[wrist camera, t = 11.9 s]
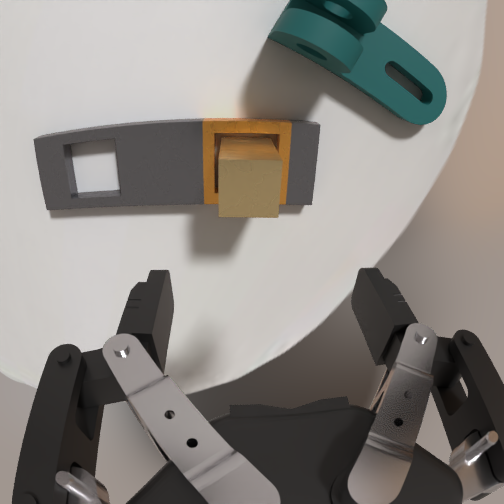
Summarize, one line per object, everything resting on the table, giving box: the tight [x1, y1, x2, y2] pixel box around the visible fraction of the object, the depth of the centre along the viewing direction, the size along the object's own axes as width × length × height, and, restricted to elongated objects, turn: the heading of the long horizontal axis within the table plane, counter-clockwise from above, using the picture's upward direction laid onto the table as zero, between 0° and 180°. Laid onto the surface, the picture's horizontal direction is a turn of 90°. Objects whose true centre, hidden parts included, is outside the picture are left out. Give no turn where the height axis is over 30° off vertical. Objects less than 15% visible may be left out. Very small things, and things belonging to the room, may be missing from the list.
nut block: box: [218, 137, 283, 218], centre depth 26 cm, size 4×4×8 cm
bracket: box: [268, 0, 447, 125], centre depth 21 cm, size 18×7×8 cm, turn 64°
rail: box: [34, 118, 320, 210], centre depth 28 cm, size 8×28×2 cm, turn 89°
